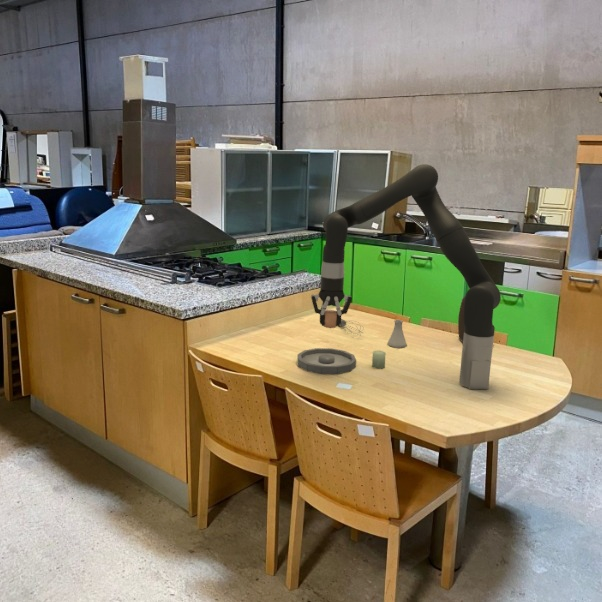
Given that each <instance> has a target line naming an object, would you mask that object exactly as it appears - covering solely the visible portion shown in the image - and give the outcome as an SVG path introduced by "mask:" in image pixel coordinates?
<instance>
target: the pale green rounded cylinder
mask: <svg viewBox="0 0 602 602" xmlns="http://www.w3.org/2000/svg"><path fill="white" fill-rule="evenodd" d="M386 355H387V354H386V351H383V350H374V351H373V352H372V359H371V360H372V361H371V362H372V363H371V367H372V368H374V369H384V368H385V366H386Z"/></svg>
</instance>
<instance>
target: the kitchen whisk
mask: <svg viewBox="0 0 602 602" xmlns="http://www.w3.org/2000/svg"><path fill="white" fill-rule="evenodd" d="M355 322H357V323H358V324H357V323H356V325H355V323H354V321H351V320H344V319H343V318H341V324H339V326H341V327H342V328H343V330H344V331H347V329H348V330H349V329H351V330H353V331H356V333H354V335H356V334H357V335H359V334H364V332H363V331H362V330H365V329H364V326H363V325H361V323H359V322H358V321H357V320H355ZM347 323H350V324H352V325H355V327H356V328H357V329H356V328H354V327H353V326H351V325H348V324H347ZM357 325H358V326H360V327H359V328H358V326H357ZM361 327H362V330H361ZM346 328H347V329H346ZM346 333H347V334H349V335H351V332H349V331H347V332H346Z"/></svg>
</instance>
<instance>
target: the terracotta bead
mask: <svg viewBox="0 0 602 602" xmlns="http://www.w3.org/2000/svg"><path fill="white" fill-rule="evenodd" d="M324 315H325V318H324V326H323V327H324V328H326V329H327V328H328V329H334V328H337V327H338V326H337V310H334V309H326V310H325V312H324Z"/></svg>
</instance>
